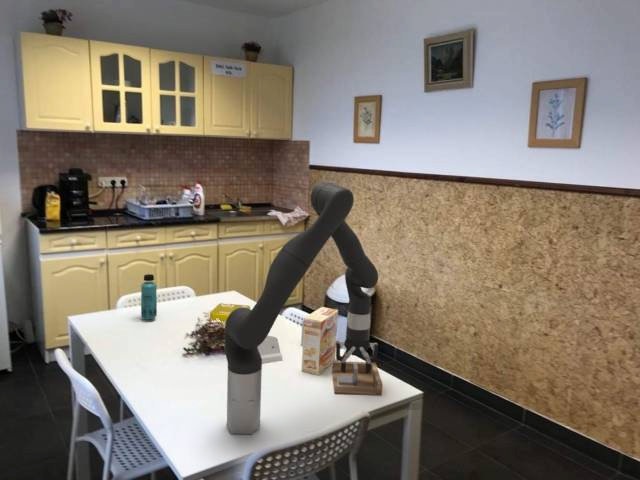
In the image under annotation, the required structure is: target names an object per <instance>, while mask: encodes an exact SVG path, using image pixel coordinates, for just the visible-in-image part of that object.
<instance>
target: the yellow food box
mask: <svg viewBox="0 0 640 480" xmlns="http://www.w3.org/2000/svg"><path fill="white" fill-rule="evenodd" d="M237 308H248V309H250V310H251V306H250V305H245V304H233V303H224V302H223V303H222V302H221V303H219V304H217V305H216V306H215V307H214V308H213V309H212V310H210V312H209V313H210V314H209V319H210V318H211V319H212V320H213V321H214V320H216V318H219V320H220V321H221V322H222V321H223V322H224V321H226V320H227V318H228V316H229V315H230V313H231V312H232V311H234V310H235V309H237Z"/></svg>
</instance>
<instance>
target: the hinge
mask: <svg viewBox="0 0 640 480" xmlns="http://www.w3.org/2000/svg"><path fill="white" fill-rule="evenodd" d="M258 351H259V353H260V355H261V358H262V365H263V364H269V363H275V362H281V361H283V355H282V353H281V347H280V344H279V340H278V338H277V337H276V336H273V335H269V334H268V335H267V337H266V338H265V340H264V341H263V342H262V343H261V344H260V345H259V346H258Z"/></svg>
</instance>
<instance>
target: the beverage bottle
mask: <svg viewBox="0 0 640 480" xmlns="http://www.w3.org/2000/svg"><path fill="white" fill-rule="evenodd" d="M154 280H155V276H154V274H150V273H147V274H144V275H143V281H144V282H143V283H142V284H141V285H140V289H141V292H140V293H141V296H140V298H141V299H140V316H141V318H142V319H143V320H144V319H145V320H152V319H155V318H156V317H157V315H158V314H157V313H158V308H157V306H158V303H157V302H158V301H157V300H158V298H157V287H158V285H157V283H155V282H154Z"/></svg>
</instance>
